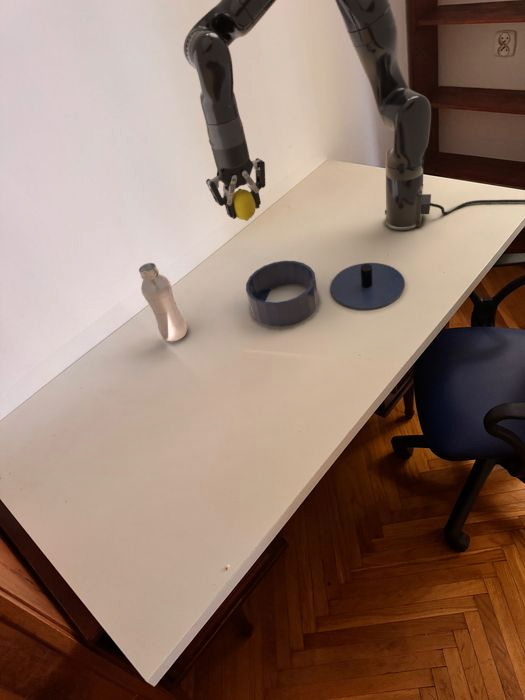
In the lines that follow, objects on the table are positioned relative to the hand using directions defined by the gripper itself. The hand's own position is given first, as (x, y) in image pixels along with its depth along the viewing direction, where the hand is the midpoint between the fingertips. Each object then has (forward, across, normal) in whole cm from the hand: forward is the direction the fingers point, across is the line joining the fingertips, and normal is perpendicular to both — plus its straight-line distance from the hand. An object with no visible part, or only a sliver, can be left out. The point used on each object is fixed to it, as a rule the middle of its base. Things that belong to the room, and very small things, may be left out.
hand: (245, 212), depth 111 cm
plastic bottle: (+19, -27, -6) cm, 34 cm away
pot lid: (+19, +18, -22) cm, 34 cm away
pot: (+19, -1, -14) cm, 24 cm away
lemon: (+2, 0, 0) cm, 2 cm away
